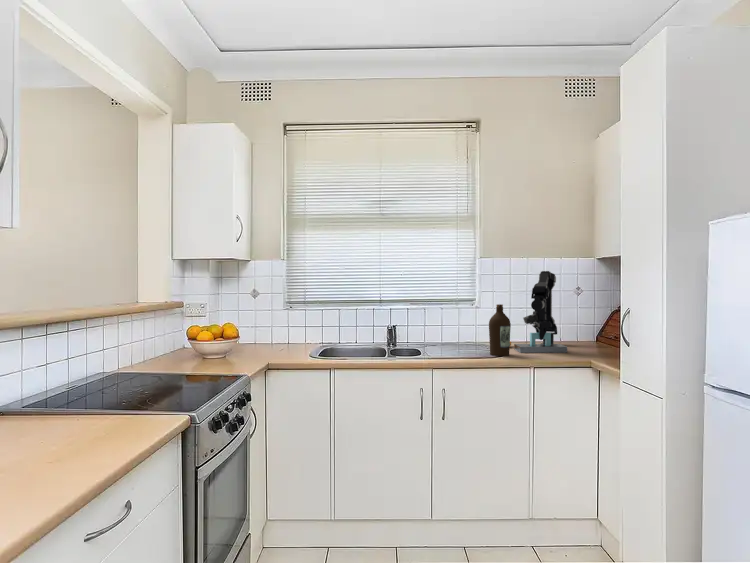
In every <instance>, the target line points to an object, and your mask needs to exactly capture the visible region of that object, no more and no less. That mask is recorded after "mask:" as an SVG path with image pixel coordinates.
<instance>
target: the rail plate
mask: <svg viewBox="0 0 750 563" xmlns="http://www.w3.org/2000/svg"><path fill="white" fill-rule="evenodd" d="M513 349H514V350H515V351H517V352H518V353H521V354H540V353H541V354H548V353H549V354H550V353H552V354H553V353H555V354H556V353H557V354H559V353H560V354H561V353H562V354H563V353H565V354H566V353H567V354H568V346H566V345H564V344H561V343H554V344H551V346H545V344H541V343H535V346H530V343H513Z"/></svg>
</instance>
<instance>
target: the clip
mask: <svg viewBox="0 0 750 563" xmlns="http://www.w3.org/2000/svg"><path fill="white" fill-rule="evenodd" d="M543 339H545V346H551V333H545V335H544V338H543ZM536 340H540V336H539V333H536V332H529V344H530V346H535V344H536Z"/></svg>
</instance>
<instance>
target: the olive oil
mask: <svg viewBox="0 0 750 563" xmlns="http://www.w3.org/2000/svg"><path fill="white" fill-rule="evenodd" d="M495 306H496V308H495V310H496V312H495V313H494V314H493V315H492V316H491V317H490V319H489V321H488V333H489V334H488V335H489V336H488V337H489V355H490V356H495V357H506V356H507V357H508V356H510V348H511V346H510V342H511V320H510V318H509V316H507V315H506V313H504V304H500V303H499V304H496V305H495Z"/></svg>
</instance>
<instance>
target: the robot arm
mask: <svg viewBox="0 0 750 563" xmlns="http://www.w3.org/2000/svg"><path fill="white" fill-rule="evenodd" d="M538 275H539V276H538V282H537V283H535V284H534V285H533V287H532V290H531V298H530V299H531V300H532V299H533V300H532V301H531V303H530V306H531V309H532V310H533V312H532V313H531V314H529V315H526V316H524V317H522V319H523V322H524V324H526V325H531V326H532V327H533V328H534V329H535V333H539V336H540V339H539V340H540V341H542V343H540V344H545V339H543V338H544V335H545V333H551V344H555V342H554V341H555V340H554V337H555V335H558V327H557V324H556V321H555V318H554V317H553V313H552V312H553V309H552V308H553V304H552V302H553V292H552V291H553V289H554V287H555V285H556V283H557V277H556V274H555V273H553V272H551V271H550V270H542V271H540V273H539V274H538Z"/></svg>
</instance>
